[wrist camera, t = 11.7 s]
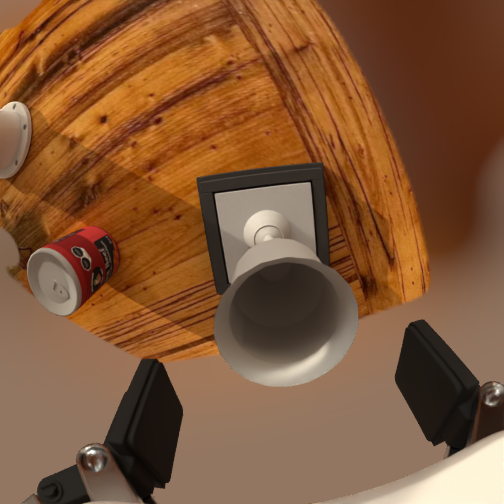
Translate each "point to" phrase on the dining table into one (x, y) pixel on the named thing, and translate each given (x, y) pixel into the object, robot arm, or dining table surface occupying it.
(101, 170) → the dining table surface
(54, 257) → the canned food
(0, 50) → the dining table surface
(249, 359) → the chalice
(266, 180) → the scale
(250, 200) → the pan
